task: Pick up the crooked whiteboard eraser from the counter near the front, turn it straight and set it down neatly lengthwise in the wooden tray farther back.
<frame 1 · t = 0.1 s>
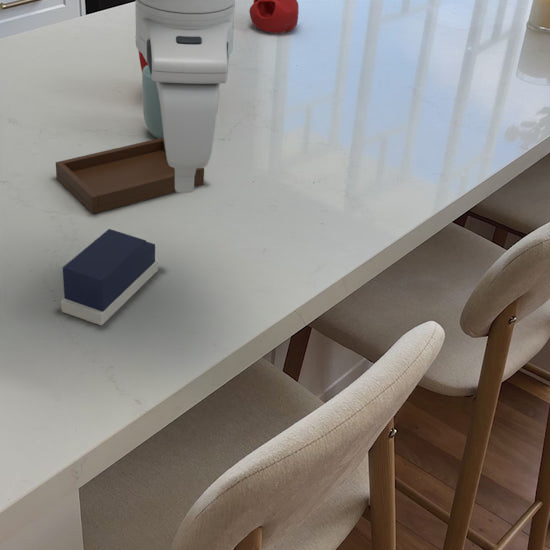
hand: (181, 165, 88), 17 cm above the kitchen island, tool pointing down, fingers open, 8 cm apart
whiteboard eraser: (111, 290, 99), on the kitchen island
cup: (169, 135, 132), on the kitchen island
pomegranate: (272, 28, 176), on the kitchen island
apple: (171, 100, 143), on the kitchen island
wooden tray: (130, 181, 120), on the kitchen island
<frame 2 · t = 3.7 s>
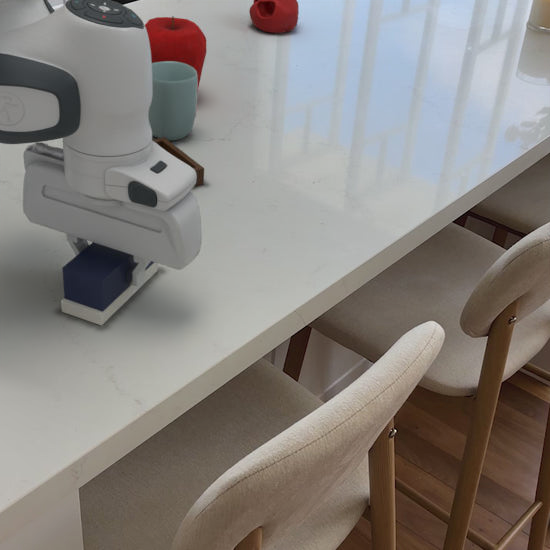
hand: (111, 274, 98), 2 cm above the kitchen island, tool pointing down, fingers closed on whiteboard eraser, 5 cm apart
whiteboard eraser: (111, 290, 99), on the kitchen island, touching gripper
everything else where it was.
when the fingers open (3 cm above the kitchen island, at t = 10.8 s): whiteboard eraser stays where it is, resting on wooden tray.
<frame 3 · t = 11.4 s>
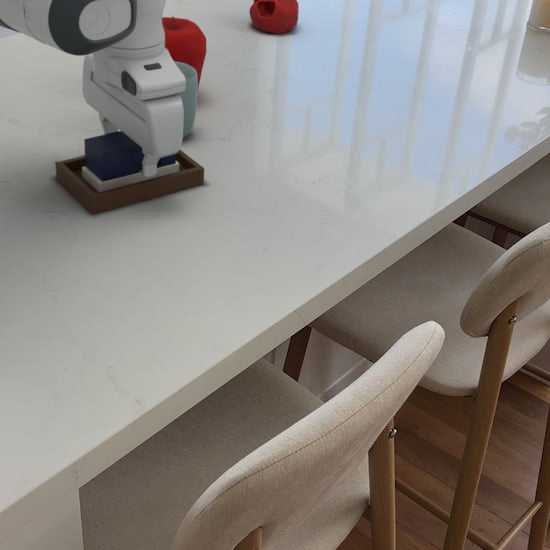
hand: (129, 159, 118), 3 cm above the kitchen island, tool pointing down, fingers open, 8 cm apart
whiteboard eraser: (131, 175, 119), point 1 cm above the kitchen island, touching wooden tray
everything else where it was.
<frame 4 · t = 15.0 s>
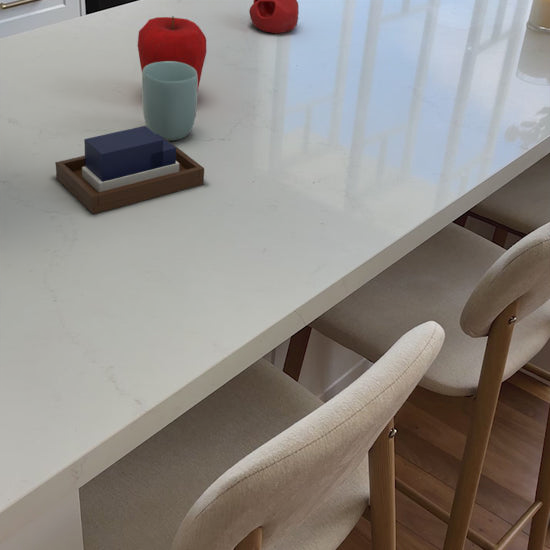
nothing on the kitchen island moved.
at the end: whiteboard eraser 0.1 cm off-centre in the wooden tray, point 1.0 cm above the wooden tray's base; whiteboard eraser tilted 0° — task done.
